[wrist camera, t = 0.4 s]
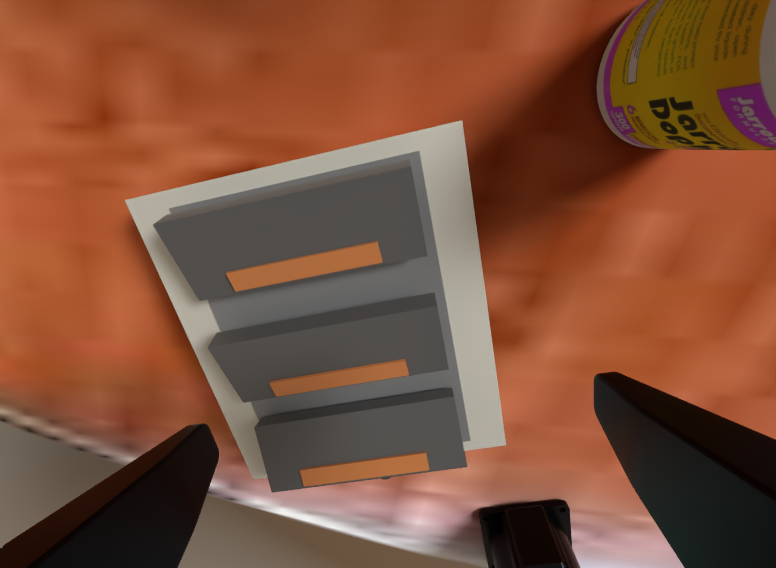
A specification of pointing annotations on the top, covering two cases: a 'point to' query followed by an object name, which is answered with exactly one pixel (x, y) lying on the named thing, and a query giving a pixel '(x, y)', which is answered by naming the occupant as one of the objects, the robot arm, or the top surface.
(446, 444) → the rocker
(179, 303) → the light switch panel
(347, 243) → the rocker
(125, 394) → the top surface
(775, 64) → the supplement bottle
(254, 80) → the top surface
